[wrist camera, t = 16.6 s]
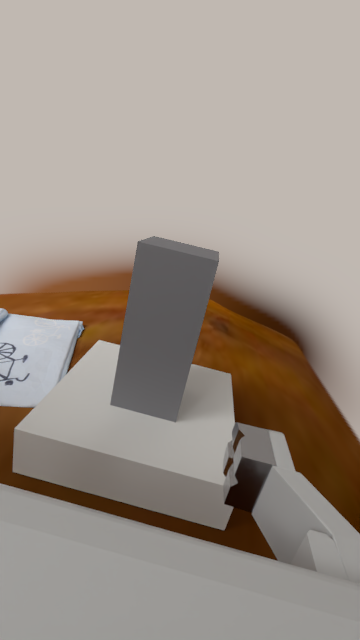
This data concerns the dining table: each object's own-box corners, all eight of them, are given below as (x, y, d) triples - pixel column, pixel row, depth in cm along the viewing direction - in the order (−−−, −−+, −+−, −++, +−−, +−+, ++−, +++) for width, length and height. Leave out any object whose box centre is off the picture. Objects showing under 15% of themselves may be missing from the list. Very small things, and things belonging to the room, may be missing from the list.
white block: (12, 471, 20) (14, 428, 18) (94, 369, 33) (99, 340, 32) (224, 530, 19) (240, 490, 18) (221, 402, 32) (230, 374, 31)
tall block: (110, 404, 22) (137, 241, 18) (128, 372, 27) (154, 236, 23) (175, 422, 22) (218, 261, 18) (183, 386, 27) (218, 251, 23)
